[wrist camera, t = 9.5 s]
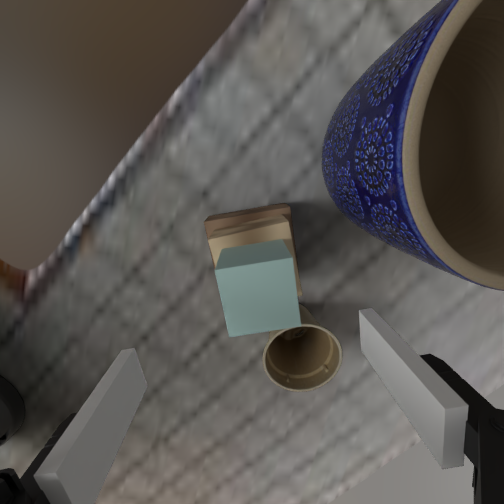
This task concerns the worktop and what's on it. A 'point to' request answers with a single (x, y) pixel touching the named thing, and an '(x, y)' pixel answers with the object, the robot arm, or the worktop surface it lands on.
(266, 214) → the tower base
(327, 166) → the planter
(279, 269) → the teal cube
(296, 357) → the flower pot
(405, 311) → the worktop surface
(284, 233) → the tower top
